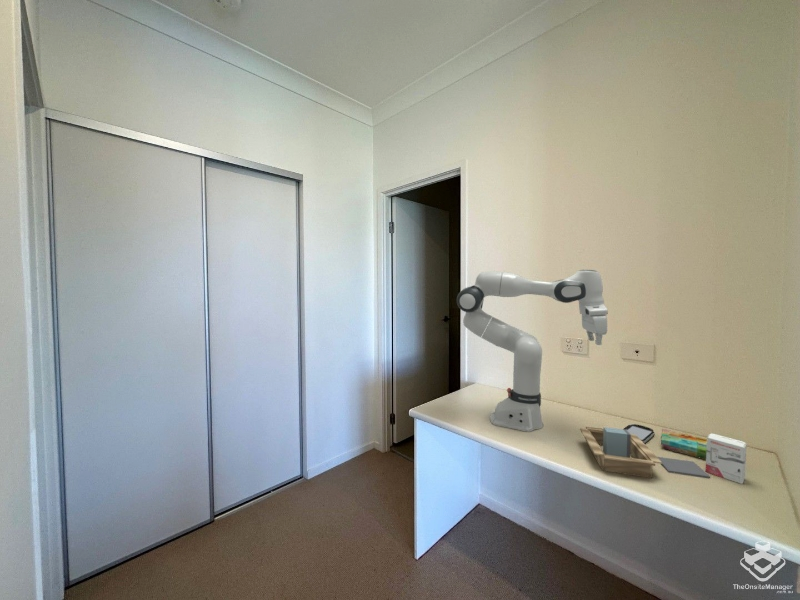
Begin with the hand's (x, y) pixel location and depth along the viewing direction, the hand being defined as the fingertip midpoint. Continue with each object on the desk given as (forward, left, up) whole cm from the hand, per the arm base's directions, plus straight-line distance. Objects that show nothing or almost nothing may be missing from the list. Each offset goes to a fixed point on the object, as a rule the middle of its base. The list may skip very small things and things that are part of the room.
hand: (594, 342), depth 129 cm
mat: (+22, -19, -38) cm, 48 cm away
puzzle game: (+33, -5, -39) cm, 51 cm away
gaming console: (+17, +3, -39) cm, 42 cm away
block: (+3, -19, -38) cm, 43 cm away
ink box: (+33, -20, -38) cm, 54 cm away
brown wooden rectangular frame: (+3, -19, -38) cm, 42 cm away
